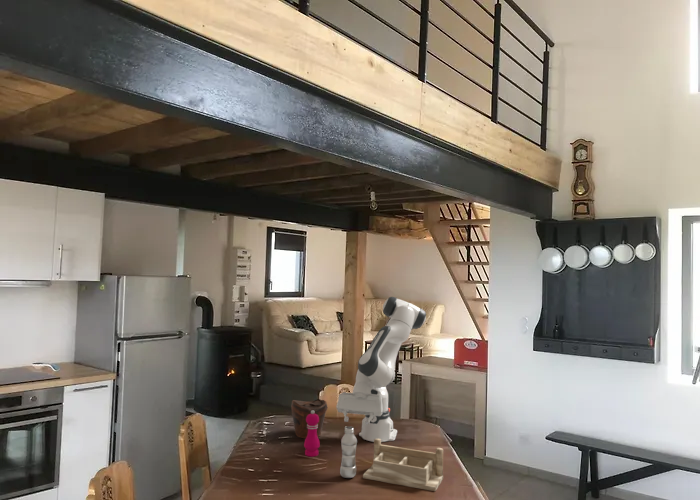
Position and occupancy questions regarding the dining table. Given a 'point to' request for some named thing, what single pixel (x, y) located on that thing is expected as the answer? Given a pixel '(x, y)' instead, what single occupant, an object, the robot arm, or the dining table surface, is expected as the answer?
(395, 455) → the wooden compartment rack
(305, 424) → the brown flower pot
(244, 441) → the dining table surface
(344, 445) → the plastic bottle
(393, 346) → the robot arm
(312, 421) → the magenta pepper grinder
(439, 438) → the dining table surface
